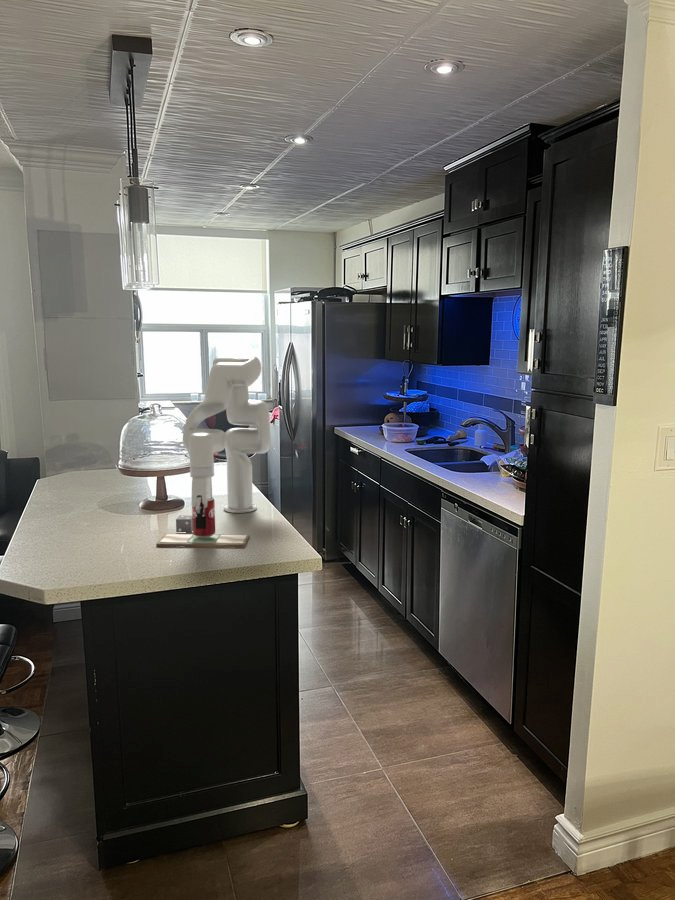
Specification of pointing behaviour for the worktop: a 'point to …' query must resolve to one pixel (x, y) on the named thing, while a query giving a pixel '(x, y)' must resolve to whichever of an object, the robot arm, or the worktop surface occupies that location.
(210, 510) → the soda can
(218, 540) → the board
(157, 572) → the worktop surface
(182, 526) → the die
